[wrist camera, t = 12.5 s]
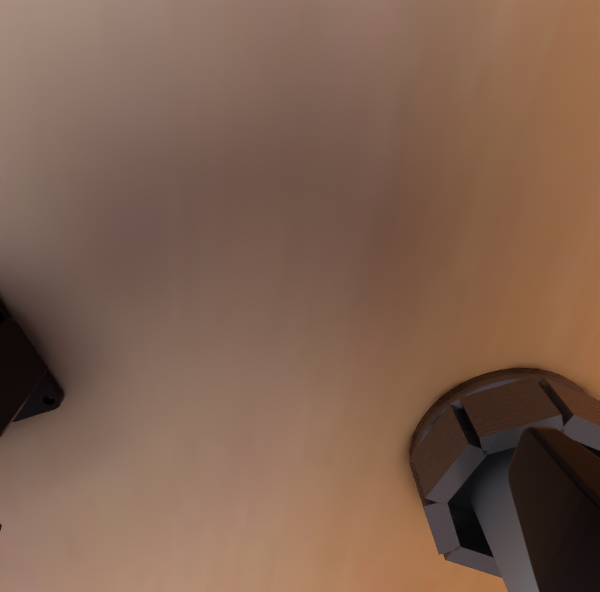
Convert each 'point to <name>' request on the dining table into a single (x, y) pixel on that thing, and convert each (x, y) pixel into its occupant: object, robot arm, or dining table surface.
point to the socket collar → (488, 447)
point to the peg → (501, 520)
